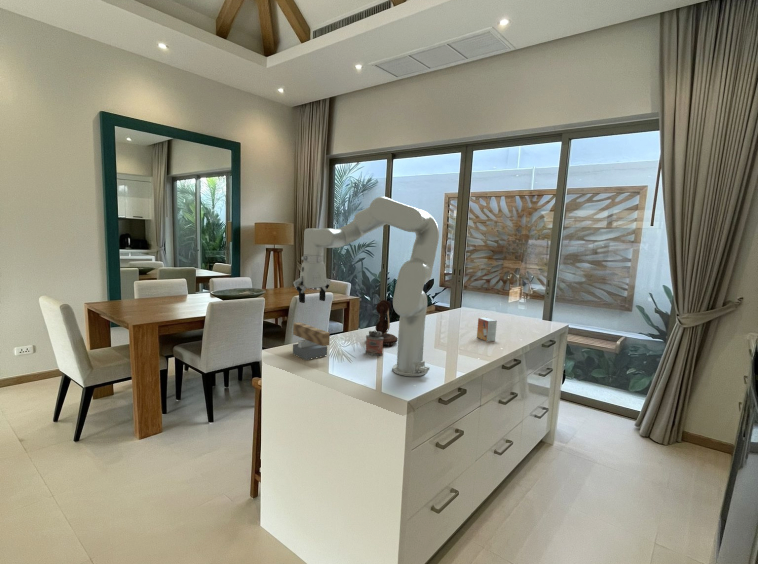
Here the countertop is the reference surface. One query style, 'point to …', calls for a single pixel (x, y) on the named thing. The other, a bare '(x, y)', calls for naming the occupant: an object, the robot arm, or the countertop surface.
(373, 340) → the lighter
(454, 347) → the countertop surface
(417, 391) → the countertop surface
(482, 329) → the small box
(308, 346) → the ridge stand
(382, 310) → the brown rounded piece
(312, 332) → the batten
